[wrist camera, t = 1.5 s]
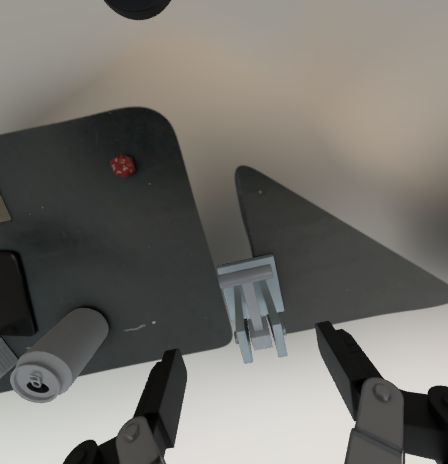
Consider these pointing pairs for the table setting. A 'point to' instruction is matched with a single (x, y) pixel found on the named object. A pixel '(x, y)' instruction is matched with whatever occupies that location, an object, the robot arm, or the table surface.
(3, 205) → the green push button box
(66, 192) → the table surface
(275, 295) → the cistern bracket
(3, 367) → the white cardboard box
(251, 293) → the flush lever
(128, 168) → the die
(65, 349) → the can
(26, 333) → the smartphone
